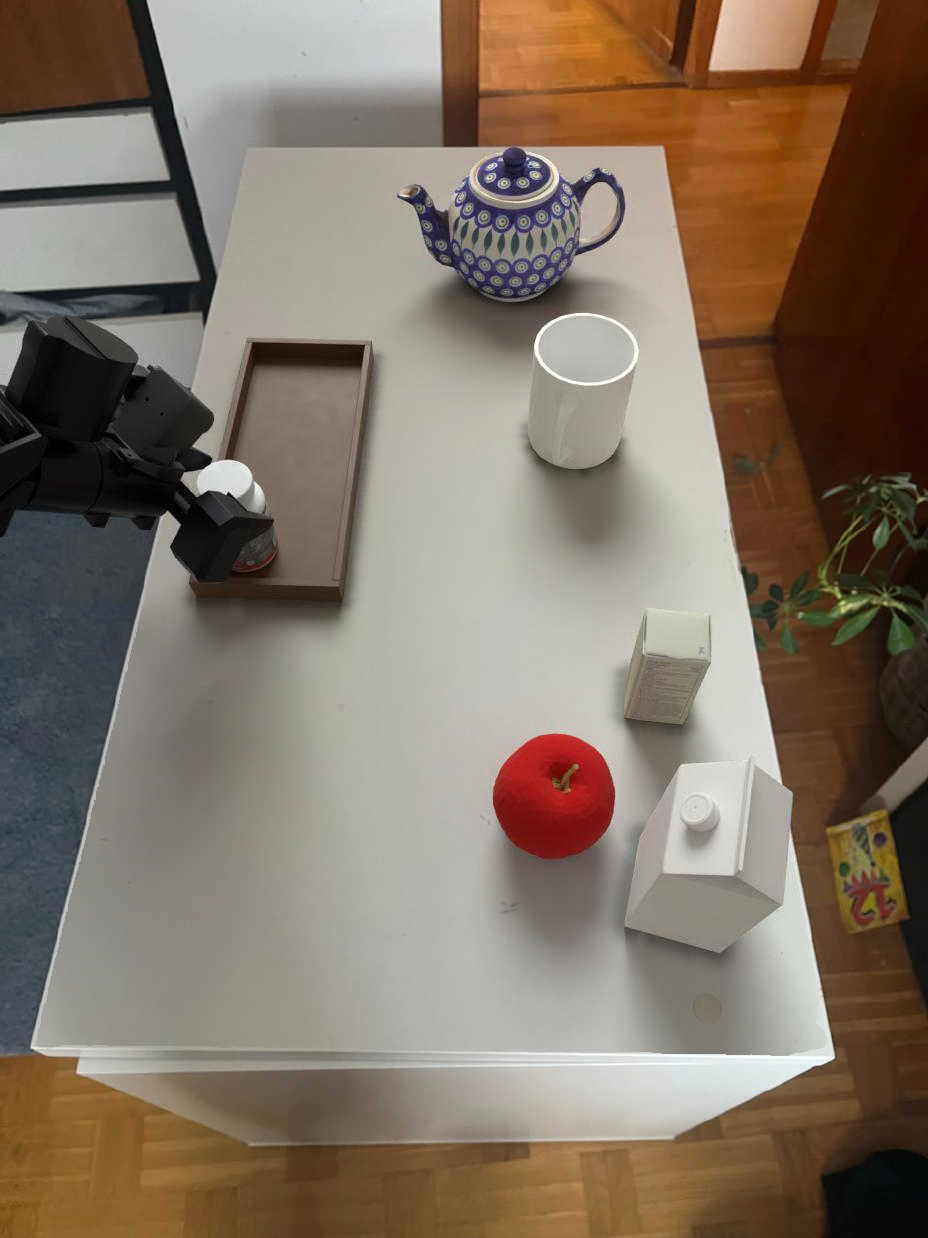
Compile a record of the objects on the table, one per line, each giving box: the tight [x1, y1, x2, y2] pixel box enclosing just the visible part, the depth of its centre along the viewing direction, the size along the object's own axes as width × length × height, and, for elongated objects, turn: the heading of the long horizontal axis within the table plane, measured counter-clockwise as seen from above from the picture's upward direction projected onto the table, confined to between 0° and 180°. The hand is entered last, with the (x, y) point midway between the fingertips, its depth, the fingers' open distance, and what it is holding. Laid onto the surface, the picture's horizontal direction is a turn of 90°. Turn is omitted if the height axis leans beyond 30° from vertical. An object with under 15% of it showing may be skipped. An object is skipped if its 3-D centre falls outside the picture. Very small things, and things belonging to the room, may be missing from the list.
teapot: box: [396, 146, 626, 303], centre depth 97 cm, size 25×15×15 cm, turn 93°
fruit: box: [492, 732, 616, 860], centre depth 65 cm, size 9×9×10 cm
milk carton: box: [624, 753, 794, 954], centre depth 58 cm, size 7×7×19 cm
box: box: [623, 607, 712, 725], centre depth 70 cm, size 5×4×11 cm
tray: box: [188, 337, 375, 603], centre depth 87 cm, size 31×13×2 cm, turn 178°
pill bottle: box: [195, 460, 278, 572], centre depth 78 cm, size 6×6×10 cm
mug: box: [527, 312, 640, 470], centre depth 84 cm, size 10×12×12 cm
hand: (239, 492), depth 76 cm, fingers open, 9 cm apart
